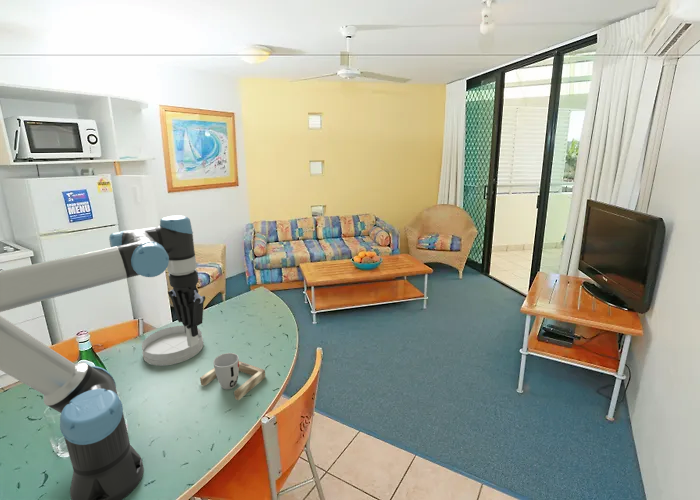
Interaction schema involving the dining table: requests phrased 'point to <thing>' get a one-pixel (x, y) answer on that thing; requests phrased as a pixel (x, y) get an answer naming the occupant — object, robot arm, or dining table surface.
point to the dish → (169, 346)
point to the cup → (227, 369)
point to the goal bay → (256, 377)
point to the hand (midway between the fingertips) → (193, 344)
